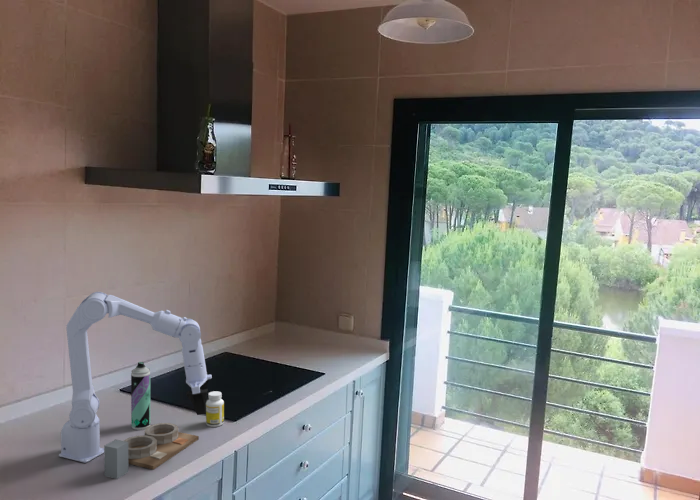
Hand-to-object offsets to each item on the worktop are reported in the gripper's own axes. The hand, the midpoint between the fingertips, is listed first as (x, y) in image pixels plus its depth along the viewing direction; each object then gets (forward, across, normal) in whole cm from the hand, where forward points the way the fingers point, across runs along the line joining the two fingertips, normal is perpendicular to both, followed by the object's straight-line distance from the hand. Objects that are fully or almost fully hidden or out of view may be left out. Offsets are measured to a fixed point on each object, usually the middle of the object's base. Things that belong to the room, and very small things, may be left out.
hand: (201, 408), depth 166 cm
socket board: (+9, -2, +14) cm, 16 cm away
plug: (+7, -15, +22) cm, 27 cm away
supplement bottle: (+11, +14, -2) cm, 18 cm away
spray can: (+8, +15, +20) cm, 26 cm away
